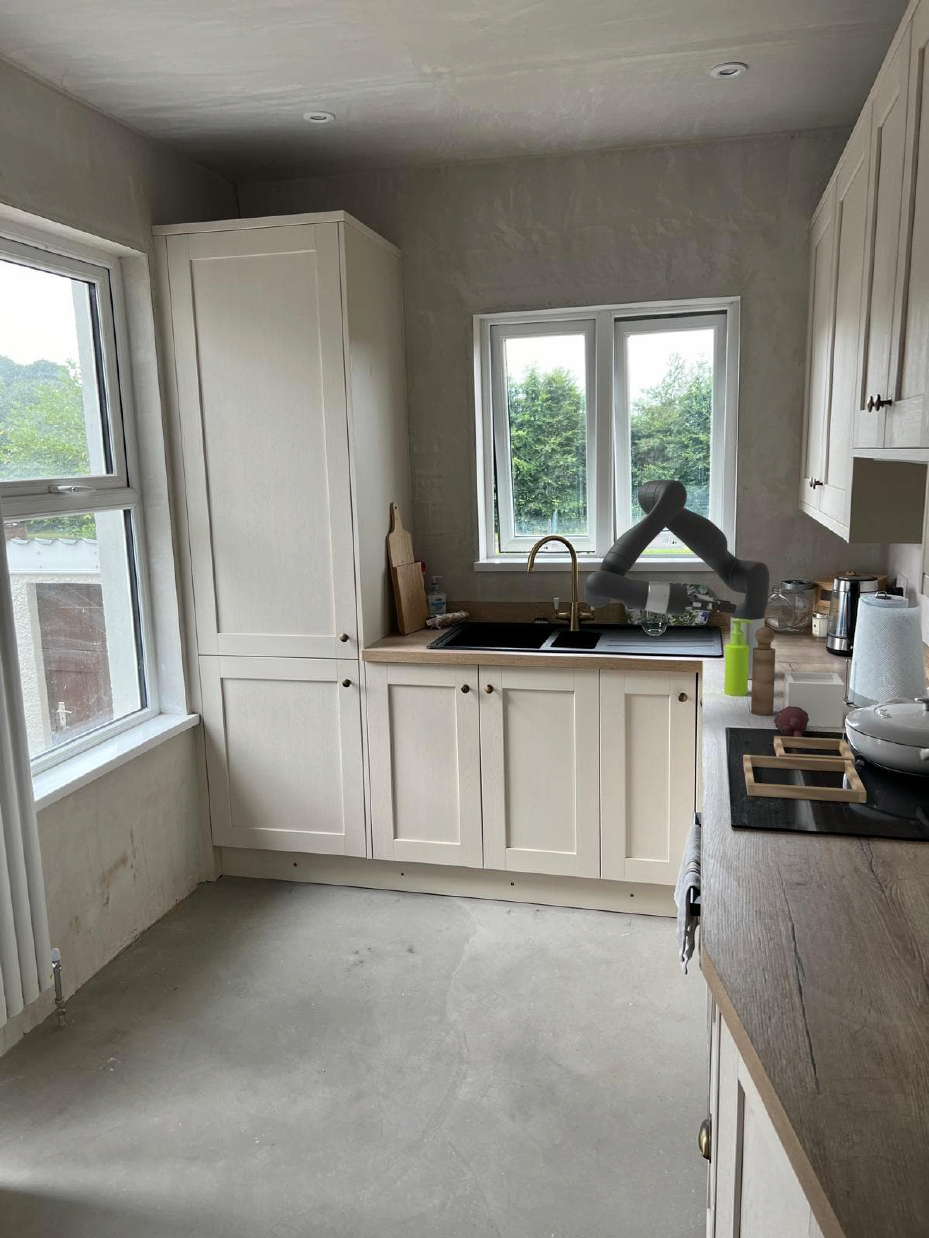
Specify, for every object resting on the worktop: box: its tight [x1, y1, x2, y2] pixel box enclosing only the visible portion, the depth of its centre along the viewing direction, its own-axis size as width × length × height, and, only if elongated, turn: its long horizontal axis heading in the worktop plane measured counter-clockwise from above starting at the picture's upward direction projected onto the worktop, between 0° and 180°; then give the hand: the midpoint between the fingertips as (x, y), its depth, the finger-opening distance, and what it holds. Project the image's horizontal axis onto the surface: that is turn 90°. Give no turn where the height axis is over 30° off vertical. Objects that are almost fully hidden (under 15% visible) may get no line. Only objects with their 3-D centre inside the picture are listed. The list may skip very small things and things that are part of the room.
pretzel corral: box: [742, 754, 867, 804], centre depth 175 cm, size 18×20×2 cm
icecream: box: [773, 706, 809, 737], centre depth 205 cm, size 7×8×15 cm
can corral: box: [773, 735, 856, 768], centre depth 191 cm, size 13×14×2 cm
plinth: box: [782, 670, 845, 729], centre depth 217 cm, size 12×12×10 cm
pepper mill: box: [750, 626, 776, 717], centre depth 222 cm, size 5×5×22 cm
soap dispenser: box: [723, 619, 754, 697], centre depth 242 cm, size 6×7×20 cm
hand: (732, 607), depth 222 cm, fingers open, 8 cm apart
